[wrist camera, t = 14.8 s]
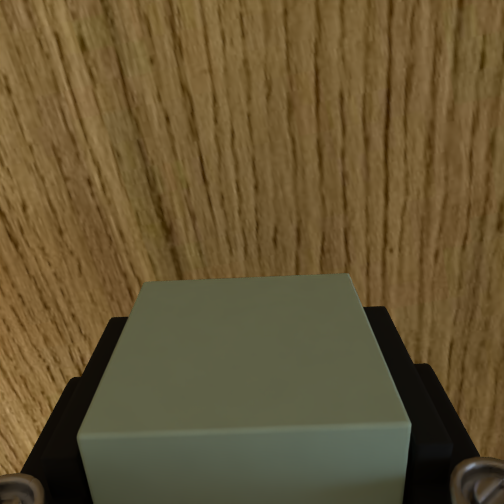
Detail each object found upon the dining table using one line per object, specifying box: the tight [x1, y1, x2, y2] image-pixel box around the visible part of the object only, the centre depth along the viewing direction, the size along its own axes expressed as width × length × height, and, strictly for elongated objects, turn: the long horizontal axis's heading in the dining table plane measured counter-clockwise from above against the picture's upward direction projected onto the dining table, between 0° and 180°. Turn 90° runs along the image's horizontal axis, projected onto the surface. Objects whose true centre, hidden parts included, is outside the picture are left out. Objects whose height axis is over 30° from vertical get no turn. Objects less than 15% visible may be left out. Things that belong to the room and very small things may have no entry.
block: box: [77, 273, 412, 504], centre depth 9 cm, size 4×4×4 cm
